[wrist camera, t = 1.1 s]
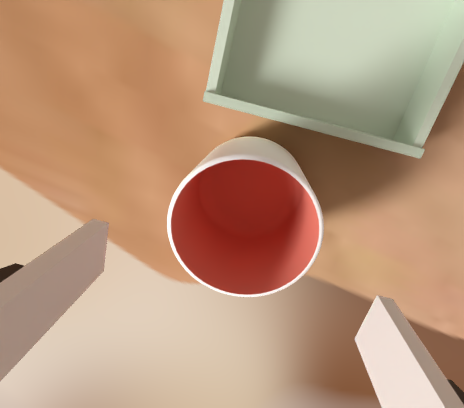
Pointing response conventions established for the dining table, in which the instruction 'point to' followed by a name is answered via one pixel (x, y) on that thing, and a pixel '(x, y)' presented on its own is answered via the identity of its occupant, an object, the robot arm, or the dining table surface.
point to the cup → (246, 219)
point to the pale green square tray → (340, 65)
